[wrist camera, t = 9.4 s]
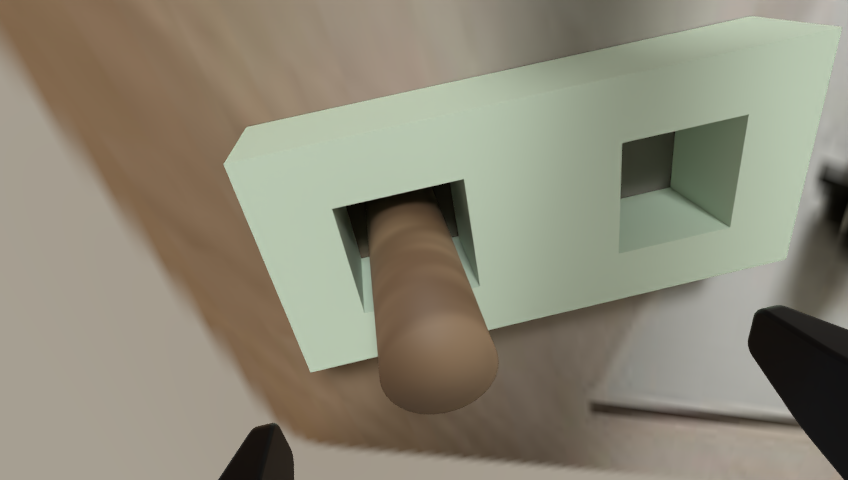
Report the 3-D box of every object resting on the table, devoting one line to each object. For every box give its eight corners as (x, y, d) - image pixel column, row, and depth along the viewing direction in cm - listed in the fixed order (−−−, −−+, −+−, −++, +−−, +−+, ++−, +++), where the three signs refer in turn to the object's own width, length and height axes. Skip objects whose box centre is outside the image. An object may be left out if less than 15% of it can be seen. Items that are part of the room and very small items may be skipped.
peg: (428, 163, 20) (491, 311, 11) (439, 225, 21) (503, 398, 13) (357, 178, 20) (366, 341, 11) (374, 240, 21) (393, 425, 13)
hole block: (751, 16, 19) (842, 26, 15) (720, 216, 23) (785, 259, 20) (246, 126, 18) (223, 164, 15) (315, 311, 23) (310, 372, 19)
